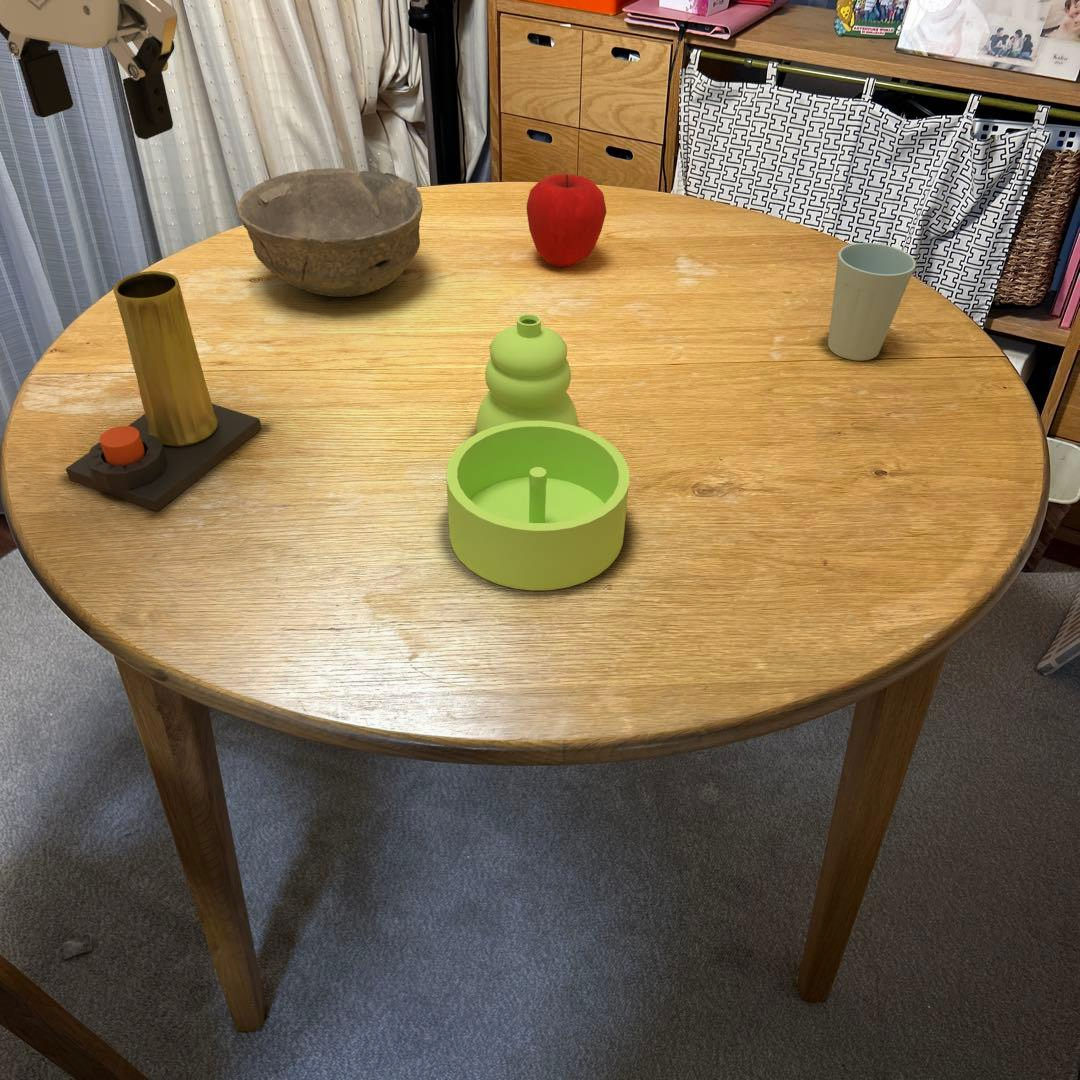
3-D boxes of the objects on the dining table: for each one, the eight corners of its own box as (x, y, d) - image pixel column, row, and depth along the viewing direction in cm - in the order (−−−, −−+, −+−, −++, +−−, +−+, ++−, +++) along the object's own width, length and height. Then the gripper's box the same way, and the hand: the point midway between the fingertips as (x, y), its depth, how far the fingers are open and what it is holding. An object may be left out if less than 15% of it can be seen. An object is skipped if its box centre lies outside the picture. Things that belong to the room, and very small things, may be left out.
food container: (635, 587, 75) (650, 456, 67) (449, 593, 74) (442, 462, 66) (598, 411, 94) (606, 293, 86) (449, 414, 93) (443, 295, 85)
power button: (126, 470, 81) (119, 450, 80) (97, 460, 82) (90, 440, 81) (153, 451, 83) (147, 431, 82) (125, 441, 84) (118, 421, 83)
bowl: (283, 340, 104) (268, 251, 97) (230, 265, 117) (213, 183, 110) (457, 299, 111) (454, 215, 105) (388, 234, 125) (382, 156, 118)
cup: (816, 360, 103) (838, 268, 96) (817, 327, 108) (838, 238, 102) (889, 370, 102) (917, 278, 95) (886, 336, 107) (913, 247, 100)
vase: (199, 403, 92) (163, 261, 82) (230, 430, 88) (198, 286, 79) (137, 426, 89) (94, 282, 79) (168, 456, 85) (126, 309, 76)
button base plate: (152, 515, 81) (144, 487, 79) (64, 482, 84) (53, 454, 82) (262, 429, 91) (256, 402, 89) (179, 402, 94) (172, 375, 92)
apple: (604, 279, 116) (610, 190, 109) (525, 277, 116) (526, 188, 109) (601, 245, 124) (606, 159, 117) (526, 243, 124) (527, 157, 117)
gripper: (-122, -169, 60) (-23, 118, 71) (88, -149, 54) (159, 158, 66) (-21, -177, 65) (56, 91, 76) (179, -160, 60) (231, 127, 71)
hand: (104, 122), depth 71 cm, fingers open, 9 cm apart
